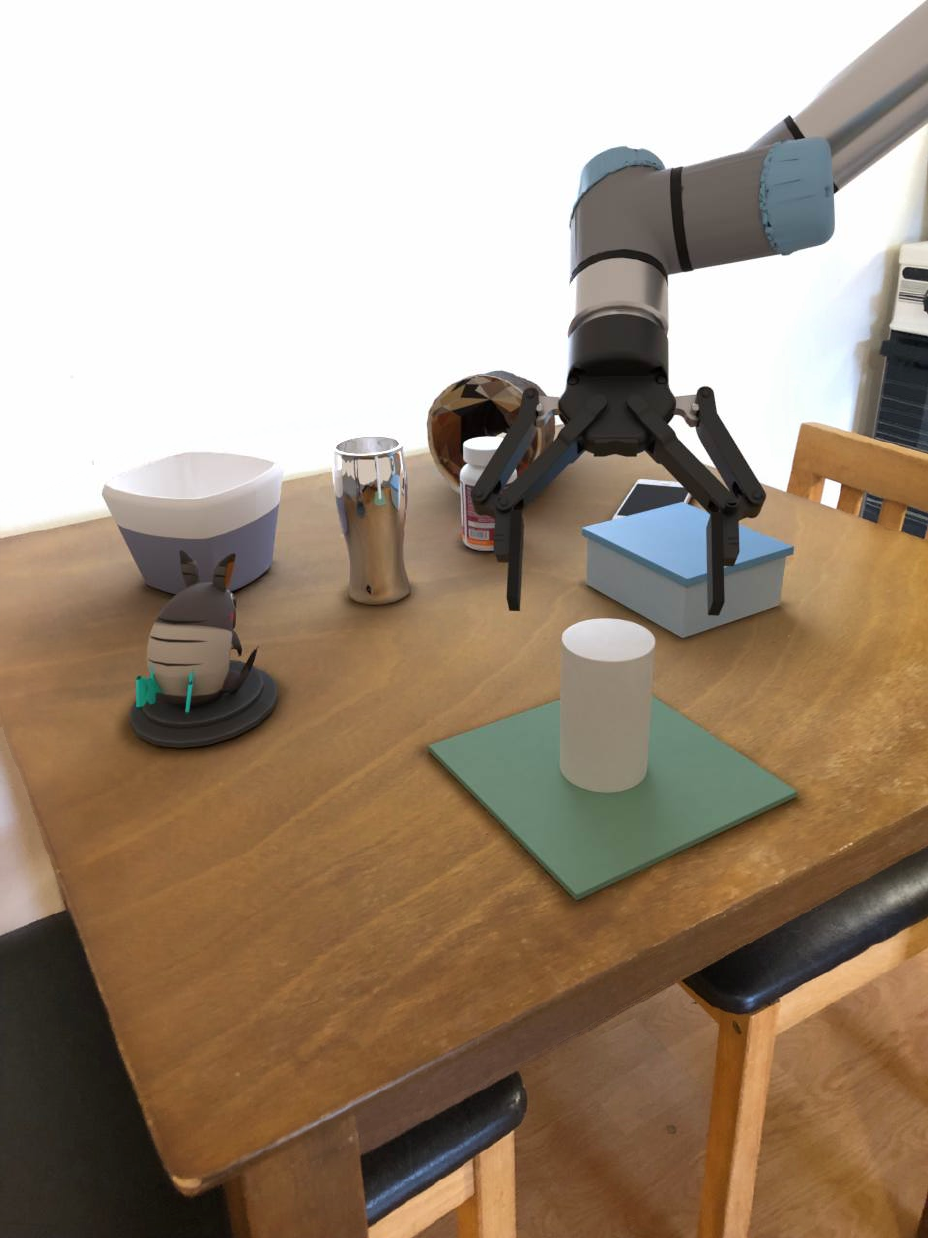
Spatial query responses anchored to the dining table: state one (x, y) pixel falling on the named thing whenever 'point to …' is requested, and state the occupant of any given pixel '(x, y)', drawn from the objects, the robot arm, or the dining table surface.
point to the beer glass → (373, 515)
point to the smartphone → (652, 497)
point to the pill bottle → (477, 456)
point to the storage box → (681, 568)
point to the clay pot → (479, 419)
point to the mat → (608, 795)
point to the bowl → (198, 515)
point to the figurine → (199, 668)
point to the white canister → (606, 703)
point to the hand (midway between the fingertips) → (613, 607)
